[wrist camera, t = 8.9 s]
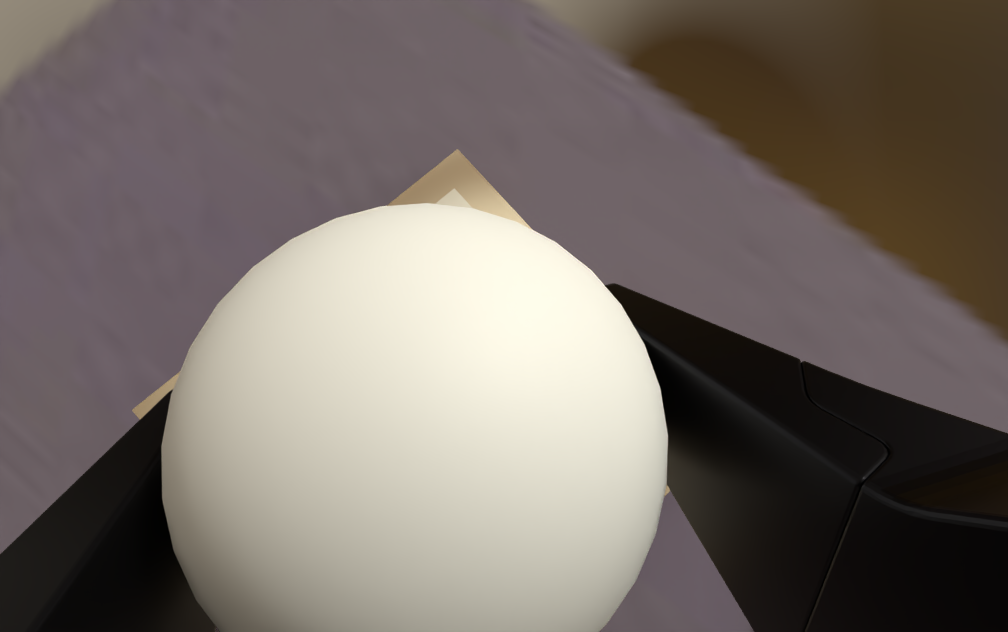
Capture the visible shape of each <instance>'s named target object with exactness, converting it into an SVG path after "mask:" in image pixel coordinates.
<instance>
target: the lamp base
mask: <svg viewBox="0 0 1008 632" xmlns="http://www.w3.org/2000/svg"><path fill="white" fill-rule="evenodd" d="M421 203H431V204H440V205H449V206H458V207H467V208H474V209H477V210H480V211H483V212H487V213H490V214H493V215H496V216H500V217H503V218H506V219H510V220H513V221H516V222H518V223H520V224H522V225H524V226H526V227H527V228H529V229H531V228H530V227H529V226H528V225H527V223H526V222H525V221H524V220H523V219H522V218H521V217H520V216H519V215H518V214H517V213H516V212H515V211H514V209H513V208H512V207H511V206H510V205H509V204H508V203H507V202H506V201H505V200H504V199H503V198H502V197H501V195H500V194H499V193H498V192H497V191H496V190H495V189H494V188H493V187H492V186H491V185H490V184H489V183H488V181H487V180H486V179H485V178H484V177H483V176H482V175H481V174H480V173H479V172H478V171H477V170H476V169H475V167H474V166H473V165H472V164H471V163H470V162H469V161H468V160H467V159H466V158H465V157H464V156H463V155H462V153H461V152H460V151H459V150H458V149H457V150H456V151H455V152H453V153H452V154H451V155H450V156H448V157H447V158H446V159H445V160H443V161H442V162H441V163H440V164H438V165H437V166H436V167H435V168H433V169H432V170H431V171H430V172H428V173H427V174H426V175H425V176H423V177H422V178H421V179H420V180H418V181H417V182H416V183H415V184H413V185H412V186H411V187H410V188H408V189H407V190H406V191H405V192H403V193H402V194H401V195H400V196H398V197H397V198H396V199H395V200H393V201H392V202H391V203H390V204H388V205H387V206H394V205H408V204H421ZM531 230H532V229H531ZM179 374H180V372H179V373H178V374H176V375H175V376H174V377H173V378H171V379H170V380H169V381H168V382H166V383H165V384H164V385H163V386H161V387H160V388H159V389H158V390H156V391H155V392H154V393H153V394H151V395H150V396H149V397H148V398H146V399H145V400H144V401H143V402H141V403H140V404H139V405H138V406H136V407H135V408H134V409H133V410H132V411H133V412H134V413H135V414H136V416H137V417H138V418H139V419H141V418H142V417H143V416H144V415H145V414H146V413H147V412H148V411H149V410H151V409H152V408H153V407H154V406H155V405H156V404H157V403H158V402H159V401H160V400H161V399H162V398H163V397H164V396H165V395H166V394H167V393H168V392H169V391H171V390H172V389H174V386H175V384H176V381H177V379H178V376H179ZM669 491H670V489H669V487H668V486H667V485H666V490H665V495H666V494H667V493H668V492H669ZM665 495H664V496H665Z"/></svg>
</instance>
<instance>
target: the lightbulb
mask: <svg viewBox="0 0 1008 632" xmlns="http://www.w3.org/2000/svg"><path fill="white" fill-rule="evenodd" d="M161 453H162V501H163V505H164V510H165V514H166V519H167V523H168V528H169V532H170V537H171V541H172V546H173V550H174V553H175V555H176V557H177V559H178V562H179V564H180V566H181V568H182V570H183V573H184V575H185V577H186V579H187V581H188V583H189V586H190V588H191V590H192V592H193V594H194V597H195V599H196V600H197V602H198V603H199V604H200V606H201V607H202V608H203V610H204V611H205V612H206V614H207V615H208V616H209V618H210V619H211V620H212V622H213V623H214V624H215V626H216V627H217V628H218V630H219V631H220V632H599V631H600V630H601V629H602V628H603V627H604V626H605V625H606V624H607V623H608V622H609V620H610V619H611V617H612V616H613V614H614V613H615V611H616V610H617V608H618V607H619V605H620V604H621V602H622V601H623V599H624V598H625V596H626V595H627V593H628V592H629V590H630V589H631V587H632V586H633V584H634V583H635V581H636V580H637V577H638V575H639V573H640V570H641V568H642V566H643V563H644V561H645V558H646V556H647V554H648V551H649V549H650V547H651V544H652V542H653V540H654V537H655V535H656V532H657V527H658V522H659V518H660V513H661V509H662V504H663V499H664V495H665V490H666V485H667V453H668V433H667V427H666V421H665V414H664V408H663V402H662V396H661V389H660V386H659V383H658V381H657V378H656V375H655V372H654V370H653V367H652V364H651V361H650V358H649V356H648V353H647V350H646V347H645V345H644V343H643V341H642V339H641V338H640V336H639V334H638V333H637V331H636V329H635V327H634V326H633V324H632V322H631V321H630V319H629V317H628V316H627V314H626V312H625V310H624V309H623V307H622V305H621V304H620V303H619V302H618V301H617V299H616V298H615V297H614V296H613V295H612V294H611V292H610V291H609V290H608V289H607V288H606V287H605V286H604V284H603V283H602V282H601V281H600V280H599V279H598V278H597V276H596V275H595V274H594V273H593V272H592V271H591V270H590V269H589V268H588V267H586V266H585V265H584V264H583V263H581V262H580V261H579V260H577V259H576V258H575V257H574V256H572V255H571V254H570V253H569V252H567V251H566V250H565V249H564V248H562V247H561V246H560V245H558V244H557V243H556V242H554V241H552V240H550V239H548V238H547V237H545V236H543V235H541V234H539V233H537V232H535V231H533V230H531V229H529V228H527V227H526V226H524V225H522V224H520V223H518V222H516V221H513V220H510V219H506V218H503V217H500V216H496V215H493V214H490V213H487V212H483V211H480V210H477V209H474V208H467V207H458V206H449V205H440V204H431V203H421V204H408V205H394V206H381V207H377V208H373V209H369V210H366V211H362V212H358V213H354V214H350V215H347V216H343V217H339V218H335V219H333V220H331V221H329V222H327V223H325V224H323V225H320V226H318V227H316V228H314V229H312V230H310V231H308V232H306V233H304V234H301V235H299V236H297V237H295V238H293V239H291V240H290V241H288V242H287V243H286V244H284V245H283V246H282V247H280V248H279V249H277V250H276V251H275V252H273V253H272V254H270V255H269V256H268V257H266V258H265V259H264V260H262V261H261V262H259V263H258V264H257V265H255V266H254V267H252V268H251V270H250V271H249V272H248V273H247V274H246V275H245V276H244V277H243V278H242V279H241V280H240V281H239V282H238V283H237V284H236V285H235V286H234V287H233V288H232V290H231V291H230V292H229V293H228V294H227V295H226V296H225V297H224V298H223V299H222V300H221V301H220V302H219V303H218V304H217V306H216V308H215V309H214V311H213V312H212V314H211V315H210V317H209V318H208V320H207V322H206V323H205V325H204V326H203V328H202V329H201V331H200V332H199V334H198V336H197V337H196V339H195V340H194V342H193V343H192V345H191V346H190V349H189V351H188V354H187V356H186V359H185V361H184V364H183V366H182V369H181V371H180V374H179V376H178V379H177V381H176V384H175V386H174V389H173V391H172V394H171V398H170V403H169V409H168V414H167V419H166V424H165V430H164V435H163V440H162V446H161Z"/></svg>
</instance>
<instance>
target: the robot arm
mask: <svg viewBox="0 0 1008 632" xmlns="http://www.w3.org/2000/svg"><path fill="white" fill-rule="evenodd" d="M604 286H605V287H606V288H607V289H608V290H609V291H610V292H611V294H612V295H613V296H614V297H615V298H616V299H617V301H618V302H619V303H620V304H621V305H622V307H623V309H624V310H625V312H626V314H627V316H628V317H629V319H630V321H631V322H632V324H633V326H634V327H635V329H636V331H637V333H638V334H639V336H640V338H641V339H642V341H643V343H644V345H645V347H646V350H647V353H648V356H649V358H650V361H651V364H652V367H653V370H654V372H655V375H656V378H657V381H658V383H659V386H660V389H661V396H662V402H663V408H664V414H665V421H666V427H667V433H668V453H667V486H668V487H669V489H670V491H671V492H672V494H673V496H674V497H675V499H676V501H677V502H678V504H679V506H680V507H681V509H682V511H683V512H684V514H685V516H686V518H687V519H688V521H689V523H690V524H691V526H692V528H693V529H694V531H695V533H696V534H697V536H698V538H699V539H700V541H701V543H702V544H703V546H704V548H705V549H706V551H707V553H708V554H709V556H710V558H711V560H712V561H713V563H714V565H715V566H716V568H717V570H718V571H719V573H720V575H721V576H722V578H723V580H724V581H725V583H726V585H727V586H728V588H729V590H730V591H731V593H732V595H733V597H734V598H735V600H736V602H737V603H738V605H739V607H740V608H741V610H742V612H743V613H744V615H745V617H746V618H747V620H748V622H749V623H750V625H751V627H752V628H753V630H754V632H1008V433H1005V432H1002V431H999V430H996V429H993V428H990V427H987V426H984V425H981V424H978V423H975V422H972V421H969V420H966V419H963V418H960V417H957V416H954V415H951V414H948V413H945V412H942V411H939V410H936V409H933V408H930V407H927V406H924V405H921V404H918V403H915V402H912V401H909V400H906V399H903V398H900V397H898V396H895V395H892V394H889V393H886V392H883V391H880V390H878V389H875V388H872V387H869V386H866V385H864V384H861V383H858V382H856V381H853V380H851V379H848V378H846V377H843V376H840V375H838V374H835V373H833V372H830V371H828V370H825V369H823V368H820V367H818V366H816V365H813V364H811V363H808V362H806V361H803V362H801V361H800V359H798V358H796V357H793V356H791V355H788V354H786V353H784V352H781V351H779V350H776V349H774V348H771V347H769V346H767V345H764V344H762V343H759V342H757V341H754V340H752V339H750V338H747V337H745V336H742V335H740V334H737V333H735V332H733V331H730V330H728V329H725V328H723V327H720V326H718V325H716V324H713V323H711V322H708V321H706V320H703V319H701V318H699V317H696V316H694V315H691V314H689V313H686V312H684V311H682V310H679V309H677V308H674V307H672V306H669V305H667V304H664V303H662V302H660V301H657V300H655V299H652V298H650V297H647V296H645V295H643V294H640V293H638V292H635V291H633V290H630V289H628V288H626V287H623V286H621V285H618V284H614V283H613V284H608V285H604ZM172 391H173V389H172V390H171V391H169V392H168V393H167V394H166V395H165V396H164V397H163V398H162V399H161V400H160V401H159V402H158V403H157V404H156V405H155V406H154V407H153V408H152V409H151V410H149V411H148V412H147V413H146V414H145V415H144V416H143V417H142V418H141V419H140V420H139V421H138V422H137V423H136V424H135V425H134V426H133V427H132V428H131V429H130V430H129V431H128V432H127V433H126V434H125V435H124V436H123V437H122V438H120V439H119V440H118V441H117V442H116V443H115V444H114V445H113V446H112V447H111V448H110V449H109V450H108V451H107V452H106V453H105V454H104V455H103V456H102V457H101V458H100V459H99V460H98V461H97V462H96V463H95V464H93V465H92V466H91V467H90V468H89V469H88V470H87V471H86V472H85V473H84V474H83V475H82V476H81V477H80V478H79V479H78V480H77V481H76V482H75V483H74V484H73V485H72V486H71V487H70V488H69V489H68V490H67V491H65V492H64V493H63V494H62V495H61V496H60V497H59V498H58V499H57V500H56V501H55V502H54V503H53V504H52V505H51V506H50V507H49V508H48V509H47V510H46V511H45V512H44V513H43V514H42V515H41V516H40V517H38V518H37V519H36V520H35V521H34V522H33V523H32V524H31V525H30V526H29V527H28V528H27V529H26V530H25V531H24V532H23V533H22V534H21V535H20V536H19V537H18V538H17V539H16V540H15V541H14V542H13V543H12V544H10V545H9V546H8V547H7V548H6V549H5V550H4V551H3V552H2V553H1V554H0V632H215V629H216V626H215V624H214V623H213V622H212V620H211V619H210V618H209V616H208V615H207V614H206V612H205V611H204V610H203V608H202V607H201V606H200V604H199V603H198V602H197V600H196V599H195V597H194V594H193V592H192V590H191V588H190V586H189V583H188V581H187V579H186V577H185V575H184V573H183V570H182V568H181V566H180V564H179V562H178V559H177V557H176V555H175V553H174V550H173V546H172V541H171V537H170V532H169V528H168V523H167V519H166V514H165V510H164V505H163V501H162V453H161V446H162V440H163V435H164V430H165V424H166V419H167V414H168V409H169V403H170V398H171V394H172Z"/></svg>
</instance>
